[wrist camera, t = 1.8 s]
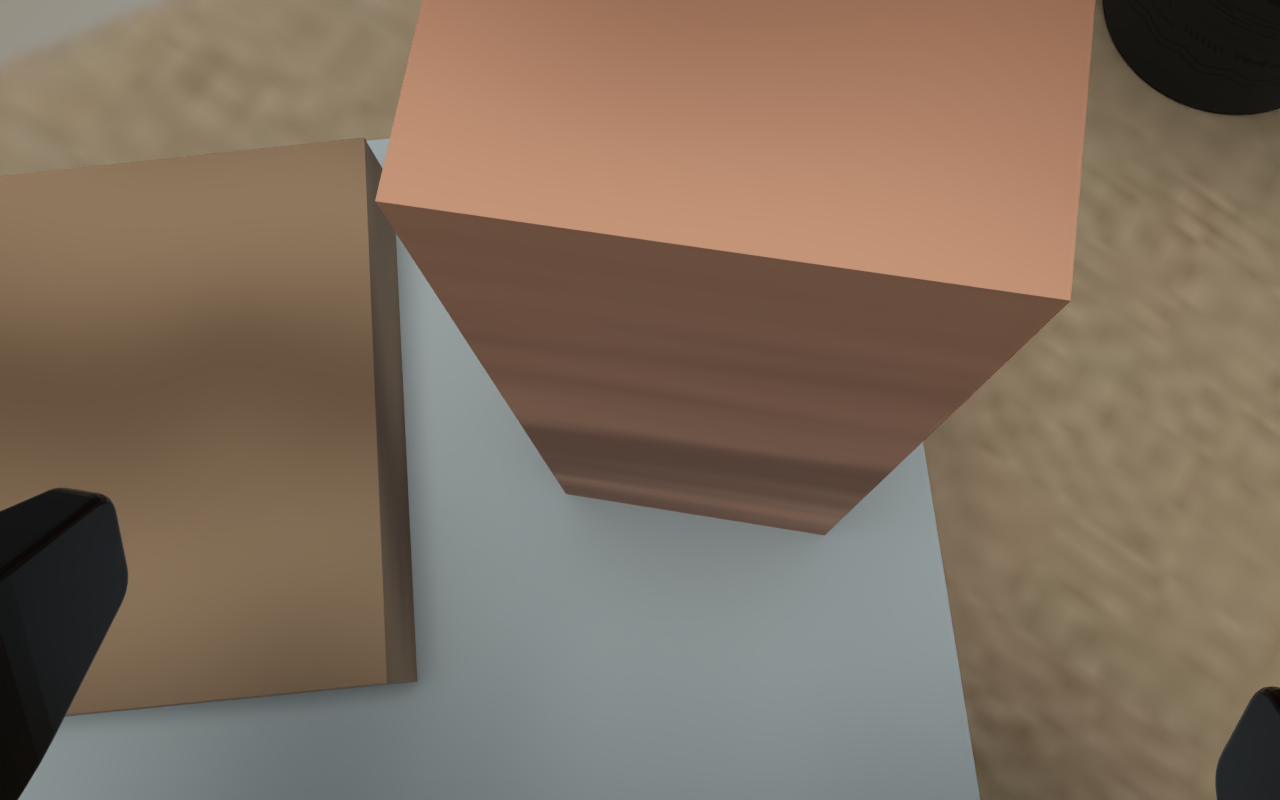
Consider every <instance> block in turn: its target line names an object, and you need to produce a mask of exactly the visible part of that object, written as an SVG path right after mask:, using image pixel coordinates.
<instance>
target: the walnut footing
mask: <svg viewBox="0 0 1280 800" xmlns="http://www.w3.org/2000/svg"><path fill="white" fill-rule="evenodd" d="M382 170H383V168H382V167H381V165H380V163H379V162H378V160H377V158H376V157H375V155H374V153H373V152H372V150H371V148H370V147H369V145H368V143H367V142H366V140H365V138H357V139H347V140H338V141H328V142H319V143H310V144H300V145H291V146H281V147H272V148H262V149H253V150H243V151H234V152H225V153H215V154H206V155H196V156H187V157H177V158H168V159H158V160H149V161H140V162H130V163H121V164H111V165H102V166H92V167H83V168H73V169H64V170H55V171H45V172H36V173H26V174H17V175H7V176H0V511H2V510H4V509H7V508H9V507H11V506H14V505H16V504H18V503H20V502H23V501H25V500H27V499H30V498H32V497H34V496H37V495H39V494H41V493H43V492H46V491H48V490H51V489H54V488H72V489H78V490H84V491H90V492H96V493H101V494H103V495H105V496H107V497H109V498H110V500H111V501H112V502H113V504H114V506H115V509H116V513H117V518H118V523H119V528H120V533H121V538H122V543H123V548H124V552H125V557H126V562H127V567H128V585H127V590H126V594H125V597H124V600H123V602H122V604H121V606H120V608H119V610H118V612H117V614H116V616H115V618H114V620H113V622H112V624H111V626H110V628H109V630H108V632H107V634H106V636H105V638H104V640H103V642H102V644H101V646H100V648H99V650H98V652H97V654H96V656H95V658H94V660H93V662H92V664H91V666H90V668H89V670H88V672H87V674H86V676H85V678H84V680H83V682H82V684H81V686H80V688H79V690H78V692H77V694H76V696H75V698H74V700H73V702H72V704H71V706H70V708H69V710H68V712H67V714H66V716H65V717H67V716H77V715H87V714H97V713H107V712H117V711H127V710H137V709H147V708H157V707H167V706H177V705H187V704H197V703H208V702H218V701H228V700H238V699H248V698H258V697H268V696H278V695H288V694H298V693H308V692H318V691H328V690H338V689H348V688H358V687H368V686H378V685H388V684H398V683H408V682H417V664H416V643H415V622H414V601H413V581H412V560H411V539H410V518H409V497H408V476H407V456H406V435H405V414H404V393H403V372H402V352H401V331H400V310H399V289H398V268H397V247H396V232H395V231H394V229H393V228H392V226H391V225H390V223H389V222H388V220H387V219H386V217H385V216H384V214H383V213H382V211H381V209H380V208H379V206H378V205H377V203H376V202H375V199H376V195H377V191H378V186H379V182H380V178H381V174H382Z"/></svg>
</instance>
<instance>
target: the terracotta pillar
mask: <svg viewBox="0 0 1280 800" xmlns="http://www.w3.org/2000/svg"><path fill="white" fill-rule="evenodd" d="M1095 1H1096V0H422V5H421V9H420V13H419V17H418V22H417V26H416V30H415V34H414V39H413V43H412V47H411V51H410V55H409V60H408V64H407V68H406V72H405V77H404V81H403V85H402V89H401V93H400V98H399V102H398V106H397V110H396V115H395V119H394V123H393V127H392V131H391V136H390V140H389V144H388V148H387V153H386V157H385V161H384V165H383V170H382V174H381V178H380V182H379V186H378V191H377V195H376V199H375V202H376V203H377V205H378V206H379V208H380V209H381V211H382V213H383V214H384V216H385V217H386V219H387V220H388V222H389V223H390V225H391V226H392V228H393V229H394V231H395V232H396V234H397V236H398V237H399V239H400V240H401V242H402V243H403V245H404V246H405V248H406V249H407V251H408V252H409V254H410V256H411V257H412V259H413V260H414V262H415V263H416V265H417V266H418V268H419V269H420V271H421V272H422V274H423V275H424V277H425V279H426V280H427V282H428V283H429V285H430V286H431V288H432V289H433V291H434V292H435V294H436V295H437V297H438V298H439V300H440V302H441V303H442V305H443V306H444V308H445V309H446V311H447V312H448V314H449V315H450V317H451V318H452V320H453V321H454V323H455V325H456V326H457V328H458V329H459V331H460V332H461V334H462V335H463V337H464V338H465V340H466V341H467V343H468V344H469V346H470V348H471V349H472V351H473V352H474V354H475V355H476V357H477V358H478V360H479V361H480V363H481V364H482V366H483V368H484V369H485V371H486V372H487V374H488V375H489V377H490V378H491V380H492V381H493V383H494V384H495V386H496V387H497V389H498V391H499V392H500V394H501V395H502V397H503V398H504V400H505V401H506V403H507V404H508V406H509V407H510V409H511V410H512V412H513V414H514V415H515V417H516V418H517V420H518V421H519V423H520V424H521V426H522V427H523V429H524V430H525V432H526V433H527V435H528V437H529V438H530V440H531V441H532V443H533V444H534V446H535V447H536V449H537V450H538V452H539V453H540V455H541V456H542V458H543V460H544V461H545V463H546V464H547V466H548V467H549V469H550V470H551V472H552V473H553V475H554V476H555V478H556V480H557V481H558V483H559V484H560V486H561V487H562V489H563V490H564V492H565V493H566V494H569V495H575V496H582V497H588V498H594V499H600V500H607V501H613V502H619V503H625V504H631V505H638V506H644V507H650V508H656V509H663V510H669V511H675V512H681V513H687V514H694V515H700V516H706V517H712V518H718V519H725V520H731V521H737V522H743V523H750V524H756V525H762V526H768V527H774V528H781V529H787V530H793V531H799V532H806V533H812V534H818V535H824V536H825V535H826V534H827V533H828V532H829V531H830V530H831V529H832V528H833V527H834V526H835V525H836V524H837V523H838V522H839V521H840V520H841V519H842V518H843V517H845V516H846V515H847V514H848V513H849V512H850V511H851V510H852V509H853V508H854V507H855V506H856V505H857V504H858V503H859V502H860V501H861V500H862V499H863V498H864V497H865V496H867V495H868V494H869V493H870V492H871V491H872V490H873V489H874V488H875V487H876V486H877V485H878V484H879V483H880V482H881V481H882V480H883V479H884V478H885V477H886V476H887V475H889V474H890V473H891V472H892V471H893V470H894V469H895V468H896V467H897V466H898V465H899V464H900V463H901V462H902V461H903V460H904V459H905V458H906V457H907V456H908V455H909V454H911V453H912V452H913V451H914V450H915V449H916V448H917V447H918V446H919V445H920V444H921V443H922V442H923V441H924V440H925V439H926V438H927V437H928V436H929V435H930V434H931V433H933V432H934V431H935V430H936V429H937V428H938V427H939V426H940V425H941V424H942V423H943V422H944V421H945V420H946V419H947V418H948V417H949V416H950V415H951V414H952V413H953V412H955V411H956V410H957V409H958V408H959V407H960V406H961V405H962V404H963V403H964V402H965V401H966V400H967V399H968V398H969V397H970V396H971V395H972V394H973V393H974V392H975V391H977V390H978V389H979V388H980V387H981V386H982V385H983V384H984V383H985V382H986V381H987V380H988V379H989V378H990V377H991V376H992V375H993V374H994V373H995V372H996V371H997V370H999V369H1000V368H1001V367H1002V366H1003V365H1004V364H1005V363H1006V362H1007V361H1008V360H1009V359H1010V358H1011V357H1012V356H1013V355H1014V354H1015V353H1016V352H1017V351H1018V350H1019V349H1021V348H1022V347H1023V346H1024V345H1025V344H1026V343H1027V342H1028V341H1029V340H1030V339H1031V338H1032V337H1033V336H1034V335H1035V334H1036V333H1037V332H1038V331H1039V330H1040V329H1041V328H1043V327H1044V326H1045V325H1046V324H1047V323H1048V322H1049V321H1050V320H1051V319H1052V318H1053V317H1054V316H1055V315H1056V314H1057V313H1058V312H1059V311H1060V310H1061V309H1062V308H1063V307H1065V306H1066V305H1067V304H1068V303H1069V302H1070V301H1071V291H1072V279H1073V266H1074V254H1075V242H1076V230H1077V218H1078V206H1079V194H1080V182H1081V170H1082V158H1083V146H1084V134H1085V121H1086V109H1087V97H1088V85H1089V73H1090V61H1091V49H1092V37H1093V25H1094V13H1095Z"/></svg>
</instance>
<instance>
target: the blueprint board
mask: <svg viewBox="0 0 1280 800" xmlns="http://www.w3.org/2000/svg"><path fill="white" fill-rule="evenodd" d="M389 140H390V139H380V140H371V141H366V142H367V143H368V145H369V147H370V148H371V150H372V152H373V153H374V155H375V157H376V158H377V160H378V162H379V163H380V165H381V167H382V168H383V165H384V161H385V157H386V153H387V148H388V144H389ZM396 247H397V268H398V289H399V310H400V331H401V352H402V372H403V393H404V414H405V435H406V456H407V476H408V497H409V518H410V539H411V560H412V581H413V601H414V622H415V643H416V664H417V682H408V683H398V684H388V685H378V686H368V687H358V688H348V689H338V690H328V691H318V692H308V693H298V694H288V695H278V696H268V697H258V698H248V699H238V700H228V701H218V702H208V703H197V704H187V705H177V706H167V707H157V708H147V709H137V710H127V711H117V712H107V713H97V714H87V715H77V716H67V717H65V718H64V720H63V722H62V723H61V725H60V727H59V729H58V731H57V733H56V735H55V737H54V739H53V741H52V743H51V745H50V747H49V748H48V750H47V752H46V754H45V756H44V758H43V759H42V761H41V763H40V765H39V767H38V768H37V770H36V771H35V773H34V775H33V776H32V778H31V780H30V781H29V783H28V785H27V786H26V788H25V789H24V791H23V793H22V794H21V796H20V797H19V799H18V800H980V795H979V789H978V783H977V776H976V770H975V764H974V758H973V751H972V745H971V739H970V733H969V726H968V720H967V714H966V708H965V701H964V695H963V689H962V683H961V676H960V670H959V664H958V658H957V651H956V645H955V639H954V633H953V626H952V620H951V614H950V608H949V601H948V595H947V589H946V583H945V576H944V570H943V564H942V558H941V551H940V545H939V539H938V533H937V526H936V520H935V514H934V508H933V501H932V495H931V489H930V483H929V476H928V470H927V464H926V458H925V451H924V445H923V442H922V443H921V444H920V445H919V446H918V447H917V448H916V449H915V450H914V451H913V452H912V453H911V454H909V455H908V456H907V457H906V458H905V459H904V460H903V461H902V462H901V463H900V464H899V465H898V466H897V467H896V468H895V469H894V470H893V471H892V472H891V473H890V474H889V475H887V476H886V477H885V478H884V479H883V480H882V481H881V482H880V483H879V484H878V485H877V486H876V487H875V488H874V489H873V490H872V491H871V492H870V493H869V494H868V495H867V496H865V497H864V498H863V499H862V500H861V501H860V502H859V503H858V504H857V505H856V506H855V507H854V508H853V509H852V510H851V511H850V512H849V513H848V514H847V515H846V516H845V517H843V518H842V519H841V520H840V521H839V522H838V523H837V524H836V525H835V526H834V527H833V528H832V529H831V530H830V531H829V532H828V533H827V534H826V535H825V536H824V535H818V534H812V533H806V532H799V531H793V530H787V529H781V528H774V527H768V526H762V525H756V524H750V523H743V522H737V521H731V520H725V519H718V518H712V517H706V516H700V515H694V514H687V513H681V512H675V511H669V510H663V509H656V508H650V507H644V506H638V505H631V504H625V503H619V502H613V501H607V500H600V499H594V498H588V497H582V496H575V495H569V494H566V493H565V492H564V490H563V489H562V487H561V486H560V484H559V483H558V481H557V480H556V478H555V476H554V475H553V473H552V472H551V470H550V469H549V467H548V466H547V464H546V463H545V461H544V460H543V458H542V456H541V455H540V453H539V452H538V450H537V449H536V447H535V446H534V444H533V443H532V441H531V440H530V438H529V437H528V435H527V433H526V432H525V430H524V429H523V427H522V426H521V424H520V423H519V421H518V420H517V418H516V417H515V415H514V414H513V412H512V410H511V409H510V407H509V406H508V404H507V403H506V401H505V400H504V398H503V397H502V395H501V394H500V392H499V391H498V389H497V387H496V386H495V384H494V383H493V381H492V380H491V378H490V377H489V375H488V374H487V372H486V371H485V369H484V368H483V366H482V364H481V363H480V361H479V360H478V358H477V357H476V355H475V354H474V352H473V351H472V349H471V348H470V346H469V344H468V343H467V341H466V340H465V338H464V337H463V335H462V334H461V332H460V331H459V329H458V328H457V326H456V325H455V323H454V321H453V320H452V318H451V317H450V315H449V314H448V312H447V311H446V309H445V308H444V306H443V305H442V303H441V302H440V300H439V298H438V297H437V295H436V294H435V292H434V291H433V289H432V288H431V286H430V285H429V283H428V282H427V280H426V279H425V277H424V275H423V274H422V272H421V271H420V269H419V268H418V266H417V265H416V263H415V262H414V260H413V259H412V257H411V256H410V254H409V252H408V251H407V249H406V248H405V246H404V245H403V243H402V242H401V240H400V239H399V237H398V236H397V234H396Z"/></svg>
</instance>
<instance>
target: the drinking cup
mask: <svg viewBox="0 0 1280 800" xmlns="http://www.w3.org/2000/svg"><path fill="white" fill-rule="evenodd" d="M1103 1H1104V10H1105V16H1106V20H1107V23H1108V27H1109V30H1110V32H1111V35H1112V37H1113V40H1114V41H1115V43H1116V45H1117V47H1118V49H1119V50H1120V52H1121V53H1122V55H1123V56H1124V58H1125V59H1126V60H1127V62H1128V63H1129V64H1130V65H1131V67H1132V68H1133V69H1134V70H1135V71H1136V72H1137V73H1138V74H1139V75H1140V76H1141V77H1142V78H1144V79H1145V80H1146V81H1147V82H1148V83H1149V84H1151V85H1152V86H1154V87H1155V88H1156V89H1158V90H1159V91H1161V92H1163V93H1164V94H1166V95H1168V96H1169V97H1172V98H1174V99H1176V100H1178V101H1180V102H1182V103H1185V104H1187V105H1190V106H1193V107H1196V108H1200V109H1203V110H1208V111H1213V112H1219V113H1229V114H1246V113H1257V112H1264V111H1269V110H1273V109H1277V108H1280V0H1103Z"/></svg>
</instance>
